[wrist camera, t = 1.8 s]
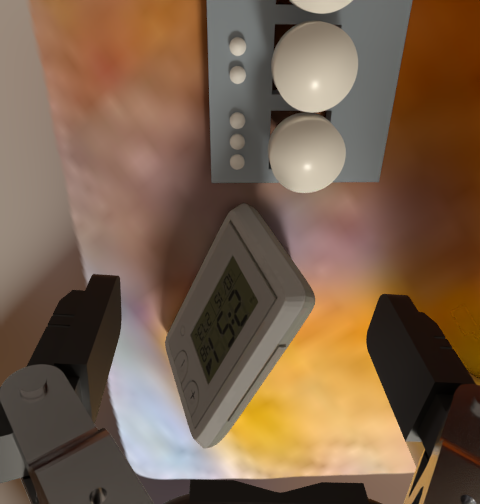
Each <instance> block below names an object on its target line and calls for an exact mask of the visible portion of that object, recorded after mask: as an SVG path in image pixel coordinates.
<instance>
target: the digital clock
mask: <svg viewBox="0 0 480 504" xmlns="http://www.w3.org/2000/svg"><path fill="white" fill-rule="evenodd" d="M314 305H315V296H314V293H313V291H312V289H311V287H310V285H309V284H308V282H307V281H306V279H305V278H304V276H303V275H302V274H301V272H300V271H299V269H298V268H297V266H296V265H295V264H294V262H293V261H292V259H291V258H290V256H289V255H288V254H287V252H286V251H285V249H284V248H283V247H282V245H281V244H280V242H279V241H278V239H277V238H276V237H275V235H274V234H273V232H272V231H271V230H270V228H269V227H268V225H267V224H266V222H265V221H264V220H263V218H262V217H261V216H260V214H259V213H258V212H257V210H256V209H255V208H253V207H252V206H250V205H248V204H245V203H242V204H240V205H239V206H237V207H236V208H234V209H233V210H231V211H230V212H229V213H228V215H227V216H226V218H225V220H224V222H223V224H222V226H221V228H220V230H219V232H218V234H217V236H216V238H215V239H214V242H213V244H212V246H211V248H210V250H209V252H208V254H207V256H206V258H205V260H204V262H203V264H202V266H201V268H200V270H199V272H198V274H197V276H196V278H195V280H194V282H193V284H192V286H191V288H190V290H189V292H188V294H187V296H186V298H185V300H184V302H183V304H182V306H181V308H180V310H179V312H178V314H177V316H176V318H175V320H174V322H173V324H172V326H171V328H170V330H169V332H168V335H167V337H166V341H165V346H166V351H167V355H168V358H169V362H170V365H171V368H172V372H173V375H174V378H175V382H176V385H177V389H178V392H179V395H180V399H181V402H182V405H183V409H184V412H185V416H186V419H187V422H188V425H189V429H190V432H191V434H192V437H193V438H194V439H195V440H196V442H197V443H198V444H200V445H201V446H202V447H203V448H209V447H212V446H214V445H216V444H217V443H219V442H220V441H221V440H222V439H223V438H224V437H225V435H226V434H227V433H228V432H229V430H230V429H231V428H232V426H233V425H234V423H235V422H236V421H237V419H238V418H239V416H240V415H241V414H242V412H243V411H244V409H245V408H246V406H247V405H248V403H249V402H250V401H251V399H252V398H253V396H254V395H255V393H256V392H257V390H258V389H259V388H260V386H261V385H262V383H263V382H264V380H265V379H266V377H267V376H268V374H269V373H270V372H271V370H272V369H273V367H274V366H275V364H276V363H277V361H278V360H279V359H280V357H281V356H282V354H283V353H284V351H285V350H286V348H287V347H288V346H289V344H290V343H291V341H292V340H293V338H294V337H295V335H296V334H297V332H298V331H299V329H300V328H301V326H302V325H303V323H304V322H305V320H306V319H307V317H308V316H309V314H310V313H311V311H312V309H313V307H314Z"/></svg>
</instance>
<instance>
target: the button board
mask: <svg viewBox="0 0 480 504" xmlns="http://www.w3.org/2000/svg"><path fill="white" fill-rule="evenodd" d="M411 6H412V0H353V1H352V2H351V3H349V4H348V5H347V6H345V7H343V8H342V9H340V10H337V11H335V12H331V13H324V14H319V13H313V12H309V11H305V10H302V9H300V8H298V7H296V6H295V5H293V4H276V0H207V31H208V69H209V106H210V143H211V181H212V183H279V181H278V180H277V179H276V177H275V176H274V174H273V171H272V168H271V165H270V162H269V158H268V143H269V139H270V124H271V111H300V110H297V109H296V108H294V107H292V106H291V105H289V104H288V103H287V102H286V101H285V100H284V99H283V97H282V96H281V94H280V92H279V91H278V90H272V79H273V77H272V71H271V62H272V56H273V52H274V34H275V24H299V23H302V22H305V21H313V20H316V21H322V22H326V23H330V24H333V25H336V26H337V27H339V28H341V29H342V30H343V31H345V32H346V33H347V34H348V36H349V37H350V38H351V40H352V41H353V43H354V45H355V48H356V51H357V56H358V71H357V76H356V79H355V82H354V84H353V86H352V88H351V90H350V91H349V93H348V94H347V95H346V97H345V98H344V99H343V100H342V101H341V102H339V103H338V104H337V105H335V106H334V107H332V108H330V109H328V110H325V111H326V119H327V120H329V121H330V122H331V123H332V125H333V126H334V127H335V128H336V129H337V131H338V132H339V133H340V135H341V136H342V138H343V140H344V143H345V148H346V158H345V163H344V166H343V168H342V170H341V172H340V174H339V175H338V176H337V178H336V179H335V180H334V181H333V182H379V178H380V173H381V168H382V162H383V157H384V151H385V146H386V141H387V135H388V130H389V124H390V119H391V114H392V108H393V103H394V97H395V92H396V87H397V81H398V76H399V70H400V65H401V60H402V54H403V49H404V43H405V38H406V33H407V27H408V22H409V16H410V11H411Z"/></svg>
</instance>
